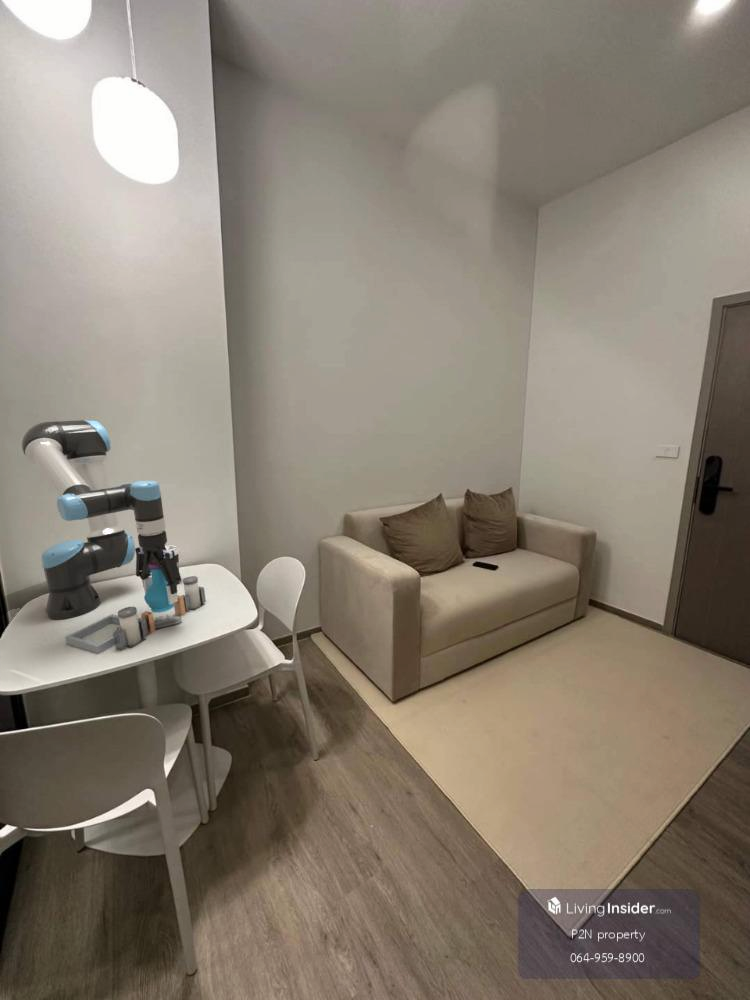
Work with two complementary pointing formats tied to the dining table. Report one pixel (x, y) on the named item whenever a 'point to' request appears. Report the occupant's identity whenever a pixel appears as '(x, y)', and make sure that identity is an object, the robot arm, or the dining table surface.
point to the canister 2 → (192, 591)
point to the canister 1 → (130, 625)
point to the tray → (87, 645)
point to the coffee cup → (176, 551)
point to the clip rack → (148, 621)
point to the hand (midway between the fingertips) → (161, 599)
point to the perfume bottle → (157, 591)
